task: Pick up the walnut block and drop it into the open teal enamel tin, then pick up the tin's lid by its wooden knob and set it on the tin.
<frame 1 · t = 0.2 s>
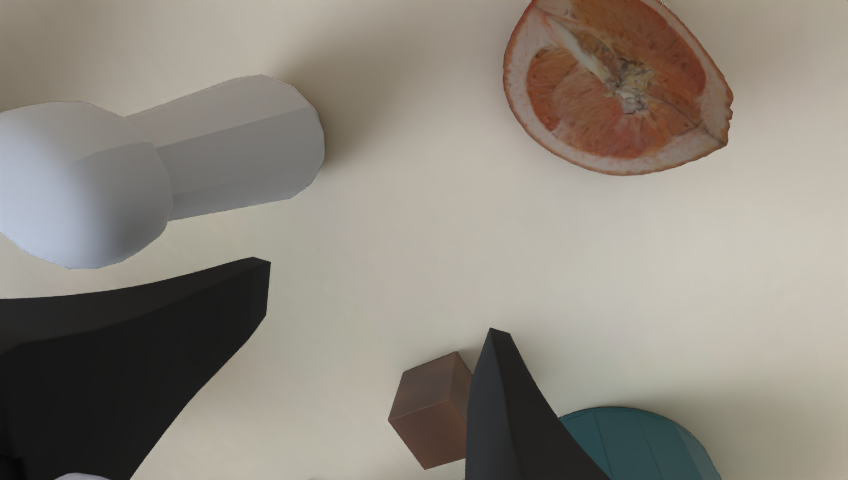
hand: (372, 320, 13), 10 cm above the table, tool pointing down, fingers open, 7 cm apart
fruit slice: (593, 82, 18), on the table
block: (445, 385, 26), on the table
salt shaker: (290, 133, 22), on the table
tin: (612, 475, 26), on the table
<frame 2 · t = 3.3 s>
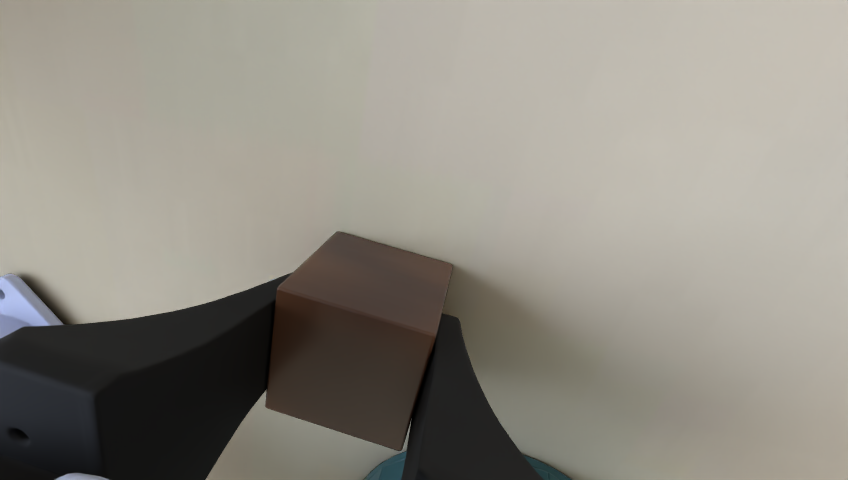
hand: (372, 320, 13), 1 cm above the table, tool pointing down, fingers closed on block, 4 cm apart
block: (383, 298, 14), on the table, touching gripper
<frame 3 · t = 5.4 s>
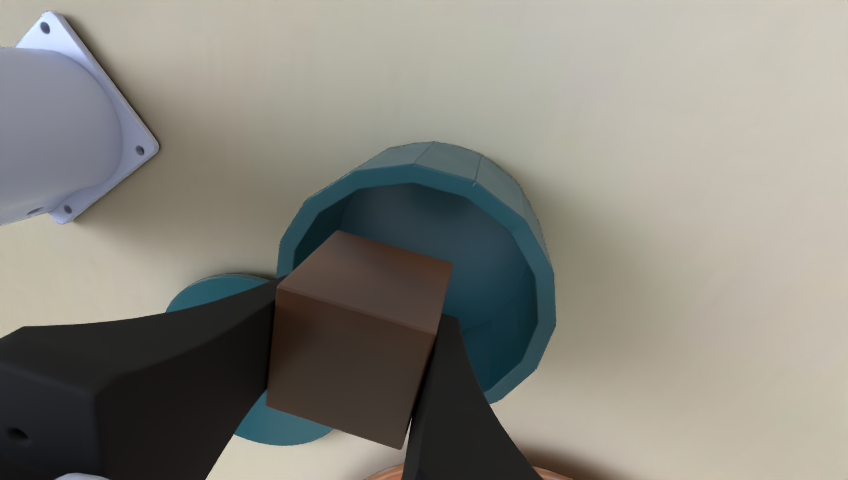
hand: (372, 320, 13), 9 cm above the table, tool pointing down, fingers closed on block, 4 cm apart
lid: (257, 363, 26), point 1 cm above the table
block: (383, 296, 14), point 8 cm above the table, touching gripper
tin: (430, 249, 22), on the table
when the fingers open (3 cm above the table, at t = 7.7 s): block drops 2 cm, resting on tin.
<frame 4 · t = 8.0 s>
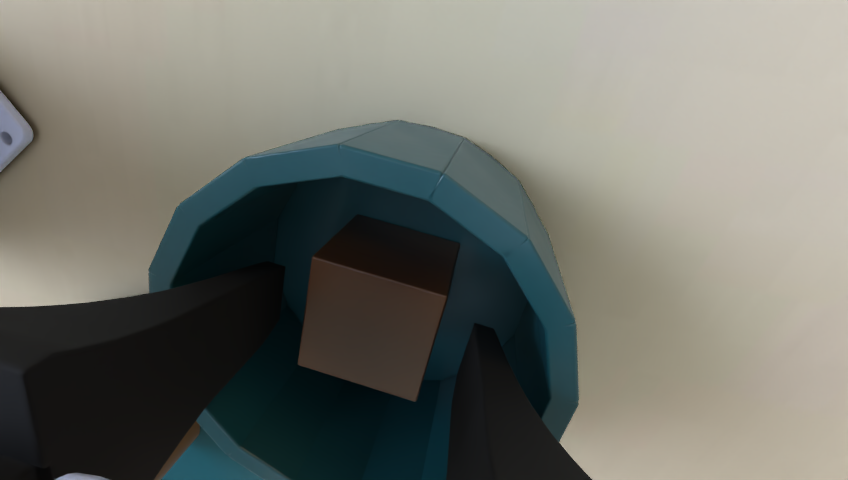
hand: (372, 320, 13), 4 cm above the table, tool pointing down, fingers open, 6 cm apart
lid: (185, 413, 20), point 1 cm above the table
block: (397, 274, 16), resting on tin
tin: (399, 270, 16), on the table
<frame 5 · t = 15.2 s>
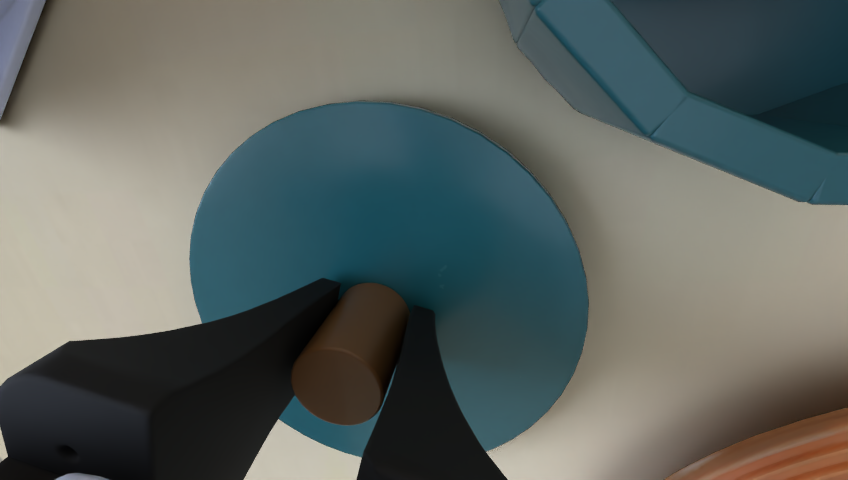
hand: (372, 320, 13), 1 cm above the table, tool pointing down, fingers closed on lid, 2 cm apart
lid: (378, 307, 13), point 1 cm above the table, touching gripper
when the fingers open (7 cm above the table, at t = 18.8 s): lid stays where it is, resting on tin.
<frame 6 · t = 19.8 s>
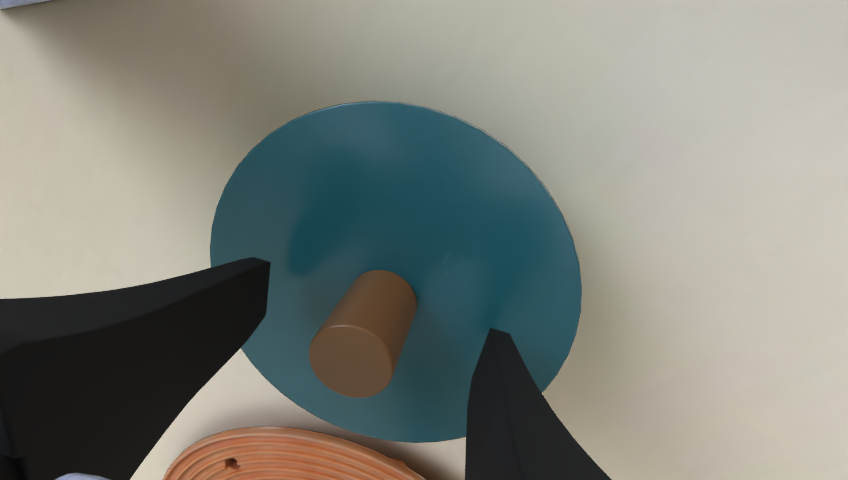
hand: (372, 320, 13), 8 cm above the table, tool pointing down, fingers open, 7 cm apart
lid: (386, 293, 14), point 6 cm above the table, touching tin
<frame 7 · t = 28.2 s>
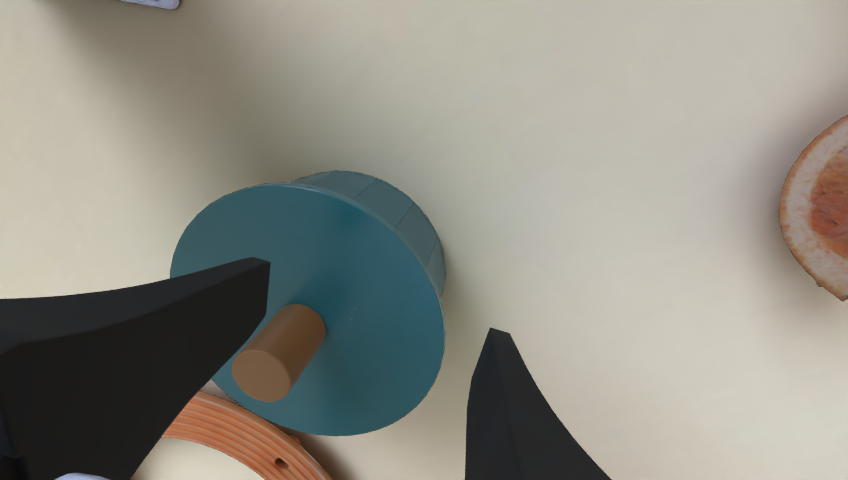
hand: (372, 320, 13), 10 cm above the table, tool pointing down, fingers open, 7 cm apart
lid: (305, 320, 19), point 6 cm above the table, touching tin
fruit slice: (833, 177, 18), on the table
tin: (350, 265, 24), on the table
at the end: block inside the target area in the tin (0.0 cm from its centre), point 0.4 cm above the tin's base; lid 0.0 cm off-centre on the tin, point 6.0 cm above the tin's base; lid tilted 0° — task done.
